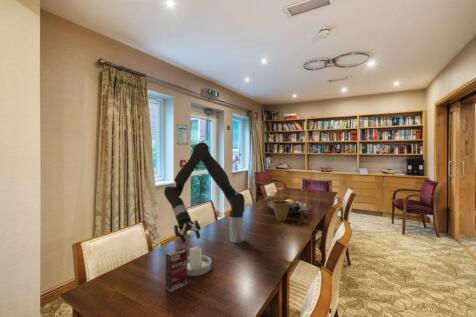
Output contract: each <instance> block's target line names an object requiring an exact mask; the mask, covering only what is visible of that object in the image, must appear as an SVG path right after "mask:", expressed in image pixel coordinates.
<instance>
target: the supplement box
mask: <svg viewBox="0 0 476 317" xmlns="http://www.w3.org/2000/svg"><path fill="white" fill-rule="evenodd" d="M187 257H188V251H187V250H186V249H184V248H178V249H176V250H173V251H170V252H167V253H165V288H166V290H168V291H169V292H170V293H173V292H174V291H175V290H178V289H180V288H183V287H184V286H186V285H188V275H187Z"/></svg>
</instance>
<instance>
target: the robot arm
mask: <svg viewBox="0 0 476 317" xmlns="http://www.w3.org/2000/svg"><path fill="white" fill-rule="evenodd" d="M201 162H202V164H203V166H204V167H205V169H206V171H207V172H208V174H209V175H210V177H211V179H212V180H213V182H214V183H215V184H216V185H217V187H219V189H220V191H222V193H223V195H224V196H225V198H226V200H227V201H228V203H229V204H230V205H231V210H230V211H229V241H230V243H232V244H240V243H243V242H244V241H245V225H244V212H245V202H246V201H245V196H244V195H243V194H242V193H241V192H238V191H236V190H235V188H233V186H232V185H231V182H230V179H229V176H228V174H227V173H226V171H225V169H224V168H223V167H222V165H220V163H219V162H218V161H217V160H216V159H215V158H214V157H213V156H212V154H211V153H210V148H209V145H208V143H206V142H204V141H196V142H194V143H193V146H192V153H191V156H190V157H189V158H188V160H187V162H185V164H184V165H183V166H182V167H181V169H180V170H179V171H178V173H177V175H176V176H175V178H174V182H175V186H173V185H171V184H170V185H167V186H165V188H164V190H163V193H164V197H165V198H166V200H167V202H168V203H169V204H170V206H171V208H172V210H173V214H174V217H175V219H176V222H177V224H175V225H174V226H173V231H174V234H175V235H174V236H175V237H176V238H180V240H181V243H182V244H186V242H187V240H186V237H185V235H184V232H185V233H187V232H189V231H191V232H194V233H195V237H196V238H197V240H199V239H200V238H201V234H200V231H201V226H200V224H199V222H198V220H197V219H196V220H194V221H192V219H191V216H190V214H189V210H188V209H187V207H186V205H185V203H184V201H183V199H182V198H181V195H182V193H183V190H184V187H185V185H186V183H187V181H188V180H189V179H190V177H191V175H192V174H193V172H194V171H195V169H196V168H197V166H198V165H199V164H200V163H201ZM179 229H180V230H179Z"/></svg>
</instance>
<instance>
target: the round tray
mask: <svg viewBox="0 0 476 317" xmlns="http://www.w3.org/2000/svg"><path fill="white" fill-rule="evenodd" d="M211 269H212V259H211V257H209V256H208V255H204V254H202V266H200V267H197V268H195V269H194V268H193V267H191V266H190V255H189V256H187V276H190V277H195V276H202V275H204V274H207V273H208V272H209V271H210V270H211Z"/></svg>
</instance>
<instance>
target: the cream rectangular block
mask: <svg viewBox="0 0 476 317" xmlns="http://www.w3.org/2000/svg"><path fill="white" fill-rule="evenodd" d="M202 252H203V250H202V248H201V247H200V246H194V247H190V248H189V256H190V266H191V267H193V268H194V269H195V268H197V267H200V266H202V255H203V253H202Z"/></svg>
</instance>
